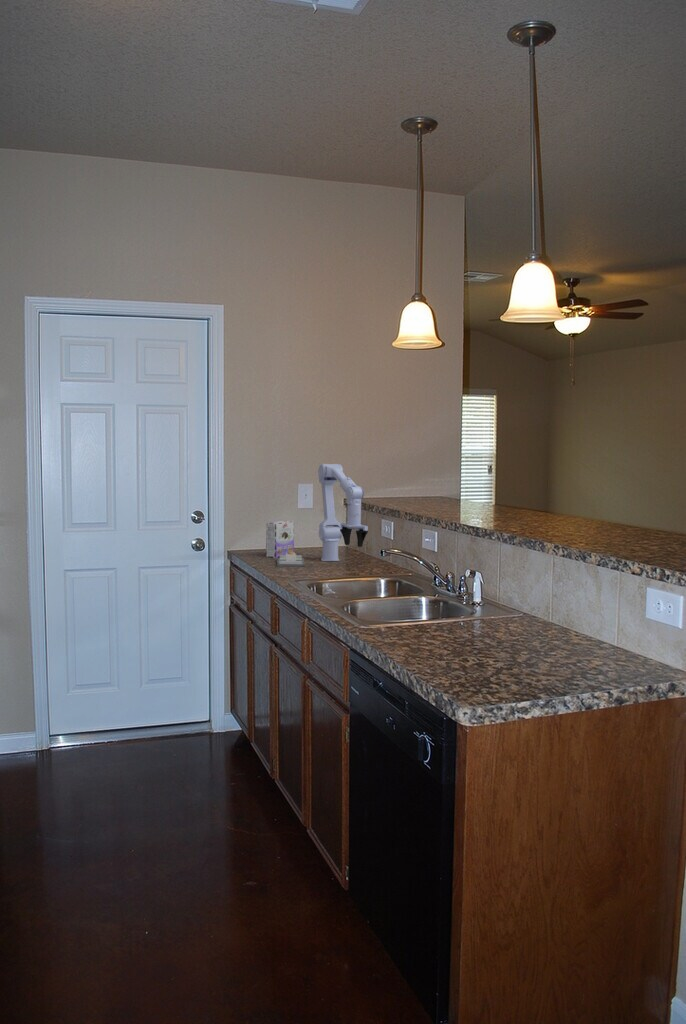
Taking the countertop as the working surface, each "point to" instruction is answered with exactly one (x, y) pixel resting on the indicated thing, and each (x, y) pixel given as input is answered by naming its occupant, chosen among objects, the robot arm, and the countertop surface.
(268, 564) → the countertop surface
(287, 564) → the rail mat
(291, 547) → the candy box
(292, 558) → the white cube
